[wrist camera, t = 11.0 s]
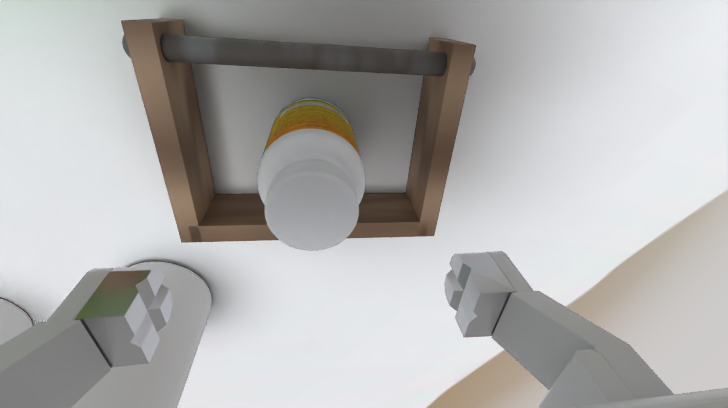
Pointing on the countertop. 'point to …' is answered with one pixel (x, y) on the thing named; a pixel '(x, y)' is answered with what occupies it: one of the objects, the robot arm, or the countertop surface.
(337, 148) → the supplement bottle
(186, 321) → the milk bottle
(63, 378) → the robot arm
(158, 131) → the wooden bar rack
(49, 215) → the countertop surface
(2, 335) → the mug
